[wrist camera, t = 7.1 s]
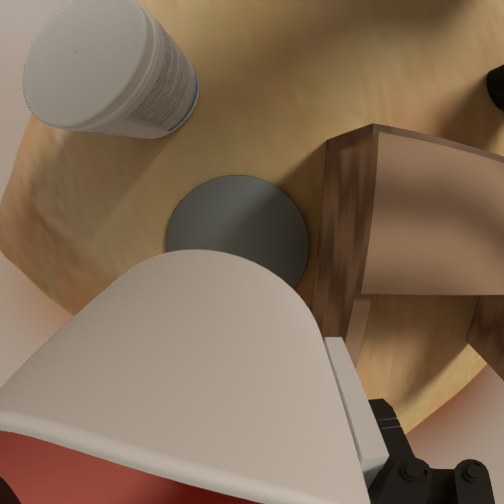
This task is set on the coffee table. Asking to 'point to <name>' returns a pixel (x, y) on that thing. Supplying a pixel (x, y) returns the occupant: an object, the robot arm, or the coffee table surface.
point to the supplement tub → (109, 72)
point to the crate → (409, 231)
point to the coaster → (243, 224)
